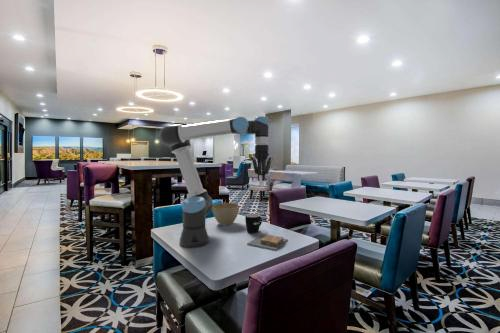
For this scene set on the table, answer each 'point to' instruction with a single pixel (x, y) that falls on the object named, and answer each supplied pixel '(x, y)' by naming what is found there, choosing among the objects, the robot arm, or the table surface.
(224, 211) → the flower pot
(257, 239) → the mat
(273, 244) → the tile
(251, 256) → the table surface
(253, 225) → the mug
